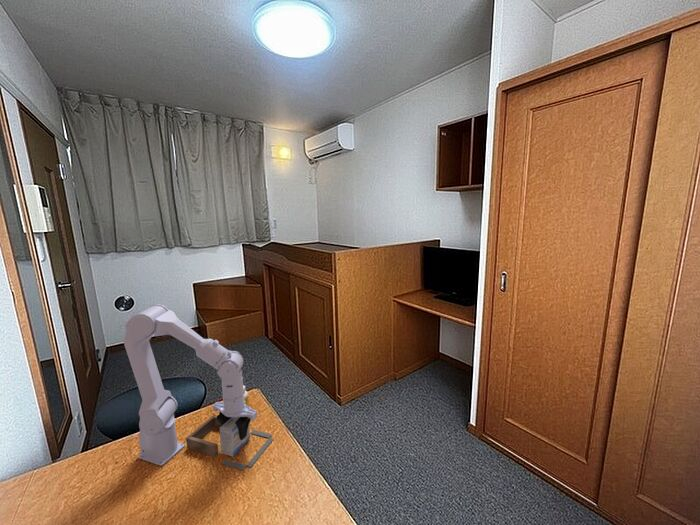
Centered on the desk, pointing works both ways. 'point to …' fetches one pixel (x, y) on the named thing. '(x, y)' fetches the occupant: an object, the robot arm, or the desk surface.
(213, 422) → the walnut shelf
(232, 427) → the medicine box
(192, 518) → the desk surface
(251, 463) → the frame
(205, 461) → the desk surface
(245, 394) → the supplement bottle
